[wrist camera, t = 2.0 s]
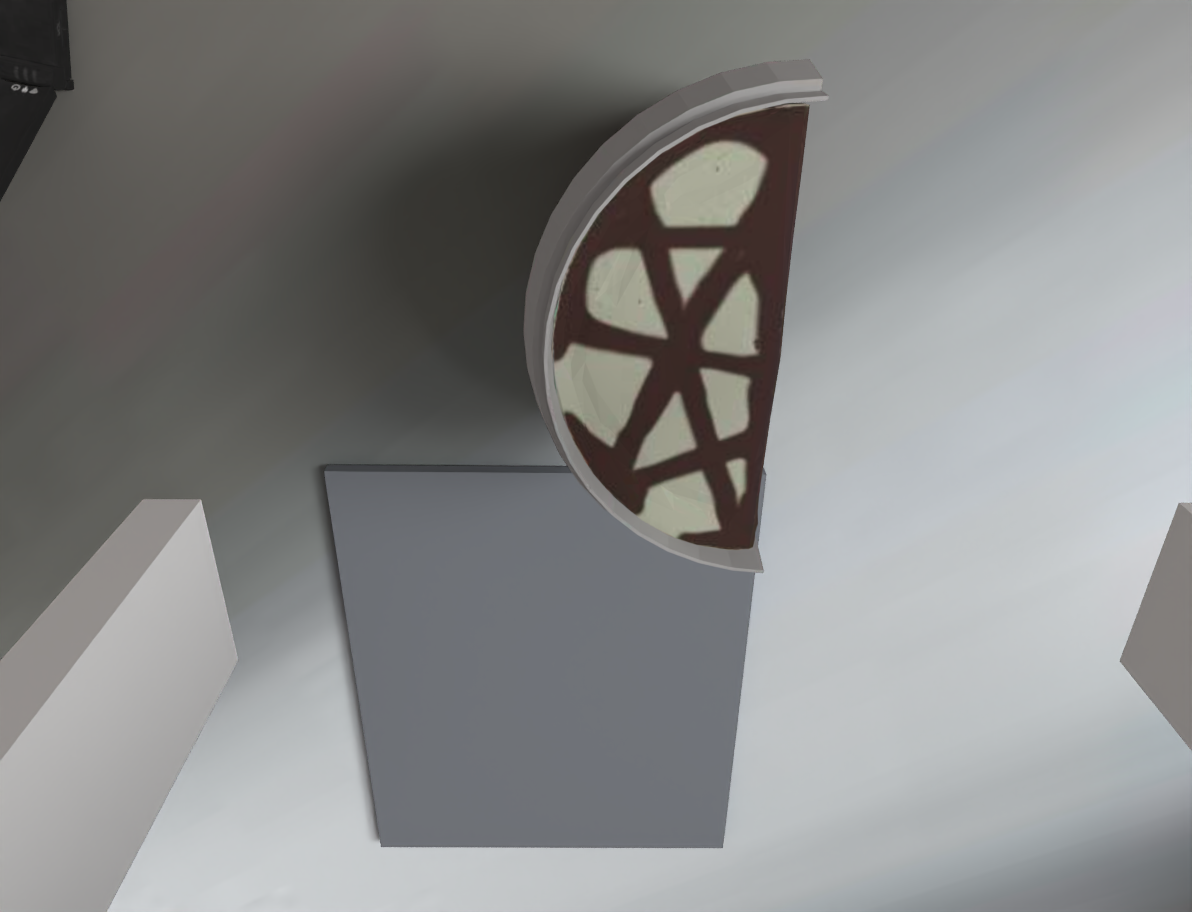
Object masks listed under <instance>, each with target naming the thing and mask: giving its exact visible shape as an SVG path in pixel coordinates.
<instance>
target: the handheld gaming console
mask: <svg viewBox="0 0 1192 912" xmlns="http://www.w3.org/2000/svg"><path fill="white" fill-rule="evenodd" d="M70 78H71V65H70V50H69V34H68V19H67V4H66V0H0V201H1V199H2V197H3V195H4V194H5V192H6V190H7V188H8V186H9V184H10V182H11V181H12V179H13V177H14V175H15V173H16V171H17V169H18V168H19V166H20V164H21V162H22V160H23V158H24V156H25V155H26V153H27V151H28V149H29V147H30V145H31V144H32V142H33V140H34V138H35V136H36V134H37V132H38V131H39V129H40V127H41V125H42V123H43V121H44V119H45V118H46V116H47V114H48V112H49V110H50V108H51V106H52V104H53V103H54V101H55V99H56V97H57V96H56V93H55V91H54V90H73V89H74V82H73V80H70ZM6 80H10V81H15V82H19V83H24V84H29V85H34V86H38V87H33V86H28V85H23V84H18V83H13V82H9V81H6Z"/></svg>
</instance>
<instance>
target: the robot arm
mask: <svg viewBox="0 0 1192 912" xmlns="http://www.w3.org/2000/svg"><path fill="white" fill-rule="evenodd" d="M237 662H238V656H237V652H236V647H235V643H234V639H233V635H232V630H231V626H230V622H229V617H228V613H227V609H226V604H225V600H224V596H223V592H222V587H221V583H220V579H219V574H218V570H217V566H216V562H215V557H214V553H213V549H212V544H211V540H210V536H209V532H208V527H207V523H206V519H205V514H204V510H203V506H202V502H201V499H143V500H142V501H141V502H140V503H139V504H138V505H137V506H136V508H135V509H134V510H133V511H132V512H131V513H130V514H129V515H128V517H127V518H126V519H125V520H124V521H123V522H122V523H121V525H120V526H119V527H118V528H117V529H116V530H115V531H114V532H113V534H112V535H111V536H110V537H109V538H108V539H107V540H106V542H105V543H104V544H103V545H102V546H101V547H100V548H99V549H98V551H97V552H96V553H95V554H94V555H93V556H92V557H91V559H90V560H89V561H88V562H87V563H86V564H85V565H84V566H83V568H82V569H81V570H80V571H79V572H78V573H77V574H76V576H75V577H74V578H73V579H72V580H71V581H70V582H69V583H68V585H67V586H66V587H65V588H64V589H63V590H62V591H61V593H60V594H59V595H58V596H57V597H56V598H55V599H54V600H53V602H52V603H51V604H50V605H49V606H48V607H47V608H46V610H45V611H44V612H43V613H42V614H41V615H40V616H39V617H38V619H37V620H36V621H35V622H34V623H33V624H32V625H31V627H30V628H29V629H28V630H27V631H26V632H25V633H24V634H23V636H22V637H21V638H20V639H19V640H18V641H17V642H16V644H15V645H14V646H13V647H12V648H11V649H10V650H9V651H8V653H7V654H6V655H5V656H4V657H3V658H2V659H1V660H0V912H107V910H108V908H109V906H110V905H111V903H112V901H113V899H114V897H115V895H116V893H117V891H118V889H119V887H120V885H121V884H122V882H123V880H124V878H125V876H126V874H127V872H128V870H129V868H130V866H131V864H132V863H133V861H134V859H135V857H136V855H137V853H138V851H139V849H140V847H141V845H142V843H143V842H144V840H145V838H146V836H147V834H148V832H149V830H150V828H151V826H152V824H153V822H154V821H155V819H156V817H157V815H158V813H159V811H160V809H161V807H162V805H163V803H164V801H165V800H166V798H167V796H168V794H169V792H170V790H171V788H172V786H173V784H174V782H175V780H176V779H177V777H178V775H179V773H180V771H181V769H182V767H183V765H184V763H185V761H186V759H187V758H188V756H189V754H190V752H191V750H192V748H193V746H194V744H195V742H196V740H197V738H198V737H199V735H200V733H201V731H202V729H203V727H204V725H205V723H206V721H207V719H208V717H209V716H210V714H211V712H212V710H213V708H214V706H215V704H216V702H217V700H218V698H219V696H220V695H221V693H222V691H223V689H224V687H225V685H226V683H227V681H228V679H229V677H230V675H231V674H232V672H233V670H234V668H235V666H236V664H237ZM1120 662H1121V663H1122V665H1123V666H1124V667H1125V668H1126V670H1127V671H1128V672H1129V673H1130V675H1131V676H1132V677H1133V678H1134V680H1135V681H1136V682H1137V683H1138V685H1139V686H1140V687H1141V688H1142V690H1143V691H1144V692H1145V693H1146V694H1147V696H1148V697H1149V698H1150V699H1151V701H1152V702H1153V703H1154V704H1155V706H1156V707H1157V708H1158V709H1159V711H1160V712H1161V713H1162V714H1163V716H1164V717H1165V718H1166V719H1167V721H1168V722H1169V723H1170V724H1171V726H1172V727H1173V728H1174V729H1175V731H1176V732H1177V733H1178V734H1179V735H1180V737H1181V738H1182V739H1183V740H1184V742H1185V743H1186V744H1187V745H1188V747H1189V748H1190V749H1191V750H1192V503H1179V504H1178V507H1177V509H1176V512H1175V515H1174V517H1173V520H1172V523H1171V525H1170V528H1169V531H1168V533H1167V536H1166V539H1165V541H1164V544H1163V547H1162V549H1161V552H1160V555H1159V557H1158V560H1157V563H1156V565H1155V568H1154V571H1153V573H1152V576H1151V579H1150V581H1149V584H1148V587H1147V589H1146V592H1145V595H1144V597H1143V600H1142V603H1141V605H1140V608H1139V611H1138V613H1137V616H1136V619H1135V621H1134V624H1133V627H1132V629H1131V632H1130V635H1129V637H1128V640H1127V643H1126V645H1125V648H1124V651H1123V653H1122V656H1121V659H1120Z"/></svg>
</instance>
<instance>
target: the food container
mask: <svg viewBox="0 0 1192 912" xmlns="http://www.w3.org/2000/svg"><path fill="white" fill-rule="evenodd" d="M822 82H823V78H822V77H821V75H820V74H819V72H818V71H817V69H816V68H815V66H814V65H813V64H812V62H811V61H810V59H803V60H789V61H776V62H764V63H760V64H756V65H752V66H747V67H743V68H739V69H734V70H730V71H726V72H722V73H719V74H716V75H714V76H711V77H709V78H706V79H704V80H702V81H699V82H697V83H694V84H692V85H689V86H687V87H685V88H682V89H680V90H677V91H675V92H674V93H672V94H671V95H669V96H667V97H666V98H664V99H662V100H661V101H659V102H657V103H656V104H654V105H653V106H651V107H649V108H648V109H646V110H644V111H643V112H641V113H639V114H638V115H636V116H635V117H634V118H633V119H632V120H631V121H629V122H628V123H627V124H626V125H625V126H624V127H622V128H621V129H620V130H619V131H618V132H617V133H615V134H614V135H613V136H612V137H611V138H610V139H608V140H607V141H606V142H605V143H604V144H602V146H601V147H600V148H599V149H598V150H597V151H596V153H595V154H594V155H593V156H592V157H591V158H590V160H589V161H588V162H587V163H586V164H585V165H584V167H583V168H582V169H581V170H580V171H579V172H578V174H577V175H576V176H575V177H574V178H573V180H572V182H571V183H570V185H569V186H568V188H567V190H566V191H565V193H564V195H563V196H562V198H561V199H560V201H559V203H558V204H557V206H556V208H555V209H554V211H553V212H552V214H551V216H550V218H549V221H548V223H547V226H546V228H545V230H544V233H543V235H542V238H541V240H540V243H539V245H538V247H537V250H536V252H535V256H534V260H533V264H532V268H531V273H530V277H529V281H528V286H527V290H526V299H525V314H524V329H523V332H524V342H525V351H526V361H527V369H528V373H529V376H530V380H531V384H532V387H533V391H534V394H535V398H536V402H537V404H538V407H539V409H540V412H541V414H542V416H543V419H544V421H545V423H546V426H547V428H548V430H549V432H550V434H551V437H552V439H553V441H554V443H555V445H556V448H557V450H558V452H559V454H560V456H561V457H562V459H563V460H564V462H565V463H566V464H567V466H568V467H569V469H570V470H571V472H572V473H573V475H574V476H575V478H576V479H577V481H578V482H579V483H580V484H581V486H582V487H583V488H584V489H585V490H586V491H587V492H588V493H589V494H590V495H591V496H592V497H593V498H594V499H595V500H596V501H597V502H598V504H599V505H600V506H601V507H602V508H604V509H605V510H606V511H608V512H609V513H610V514H611V515H612V516H613V517H615V518H616V519H617V520H619V521H620V522H621V523H623V524H624V525H625V526H627V527H628V528H629V529H630V530H632V531H633V532H634V533H636V534H637V535H638V536H640V537H642V538H644V539H646V540H647V541H649V542H651V543H653V544H655V545H656V546H658V547H660V548H662V549H664V550H666V551H667V552H670V553H673V554H676V555H678V556H681V557H684V558H686V559H689V560H692V561H694V562H697V563H700V564H705V565H709V566H714V567H719V568H723V569H728V570H732V571H744V572H756V573H763V572H764V570H763V566H762V561H761V557H760V553H759V549H758V545H757V541H756V537H755V532H756V529H757V525H758V503H759V493H760V486H761V479H762V472H763V465H764V457H765V450H766V444H767V437H768V430H769V423H770V416H771V411H772V405H773V399H774V393H775V387H776V381H777V375H778V369H779V363H780V357H781V346H782V336H783V325H784V315H785V304H786V295H787V286H788V277H789V269H790V260H791V251H792V243H793V234H794V227H795V219H796V211H797V203H798V195H799V187H800V180H801V172H802V164H803V155H804V147H805V139H806V131H807V122H808V114H809V106H810V105H807V104H804V103H797V102H811V101H824V100H828V98H829V95H827V94H826V93H824V92H822V91H821V89H822Z"/></svg>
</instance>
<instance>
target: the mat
mask: <svg viewBox="0 0 1192 912" xmlns="http://www.w3.org/2000/svg"><path fill="white" fill-rule="evenodd" d="M324 475H325V481H326V488H327V495H328V501H329V508H330V514H331V521H332V527H333V534H334V541H335V547H336V554H337V560H338V567H339V573H340V580H341V587H342V593H343V600H344V606H345V613H346V620H347V626H348V633H349V639H350V646H351V652H352V659H353V666H354V672H355V679H356V685H357V692H358V699H359V705H360V712H361V718H362V725H363V731H364V738H365V745H366V751H367V758H368V764H369V771H370V777H371V784H372V791H373V797H374V804H375V810H376V817H377V824H378V830H379V837H380V843H381V847H550V848H723V842H724V833H725V825H726V816H727V808H728V799H729V790H730V782H731V773H732V765H733V756H734V747H735V739H736V730H737V722H738V713H739V704H740V696H741V687H742V679H743V670H744V661H745V653H746V644H747V636H748V627H749V618H750V610H751V601H752V593H753V584H754V575H755V572H744V571H732V570H728V569H723V568H719V567H714V566H709V565H705V564H700V563H697V562H694V561H692V560H689V559H686V558H684V557H681V556H678V555H676V554H673V553H670V552H667V551H666V550H664V549H662V548H660V547H658V546H656V545H655V544H653V543H651V542H649V541H647V540H646V539H644V538H642V537H640V536H638V535H637V534H636V533H634V532H633V531H632V530H630V529H629V528H628V527H627V526H625V525H624V524H623V523H621V522H620V521H619V520H617V519H616V518H615V517H613V516H612V515H611V514H610V513H609V512H608V511H606V510H605V509H604V508H602V507H601V506H600V505H599V504H598V502H597V501H596V500H595V499H594V498H593V497H592V496H591V495H590V494H589V493H588V492H587V491H586V490H585V489H584V488H583V487H582V486H581V484H580V483H579V482H578V481H577V479H576V478H575V476H574V475H573V473H572V472H571V470H570V469H569V467H558V466H421V465H327V467H326V469H325V470H324ZM765 481H766V473H765V470H764V468H763V472H762V479H761V486H760V493H759V503H758V525H757V529H756V532H755V537H756V541H757V545H758V541H759V532H760V524H761V515H762V507H763V498H764V489H765Z"/></svg>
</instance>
